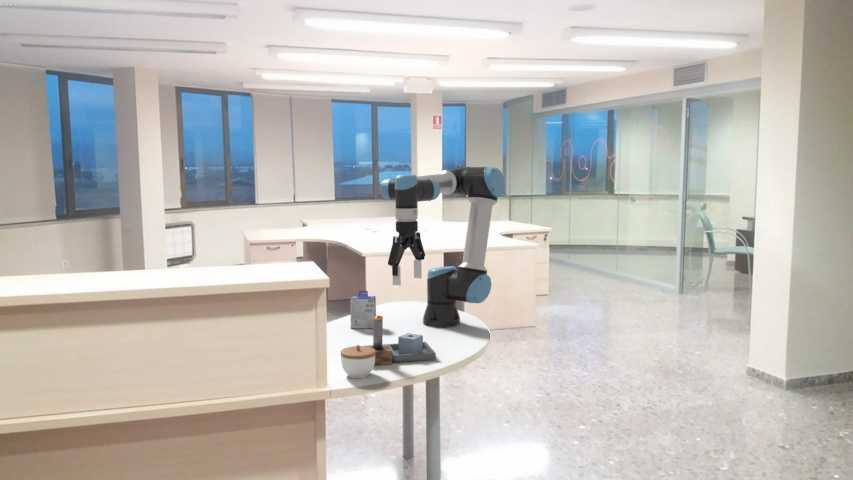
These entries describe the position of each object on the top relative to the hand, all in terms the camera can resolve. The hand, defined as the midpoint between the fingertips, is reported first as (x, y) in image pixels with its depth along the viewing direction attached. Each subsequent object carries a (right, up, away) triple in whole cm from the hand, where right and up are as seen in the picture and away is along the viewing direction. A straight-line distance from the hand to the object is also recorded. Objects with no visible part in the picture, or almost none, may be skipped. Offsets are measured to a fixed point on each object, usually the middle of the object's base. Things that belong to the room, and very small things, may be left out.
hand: (407, 281), depth 224 cm
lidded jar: (-15, -28, -24) cm, 39 cm away
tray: (+1, -25, -3) cm, 25 cm away
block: (+1, -24, -4) cm, 24 cm away
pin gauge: (-10, -25, -10) cm, 28 cm away
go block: (-10, -26, -10) cm, 29 cm away
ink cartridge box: (-19, -21, +35) cm, 44 cm away
